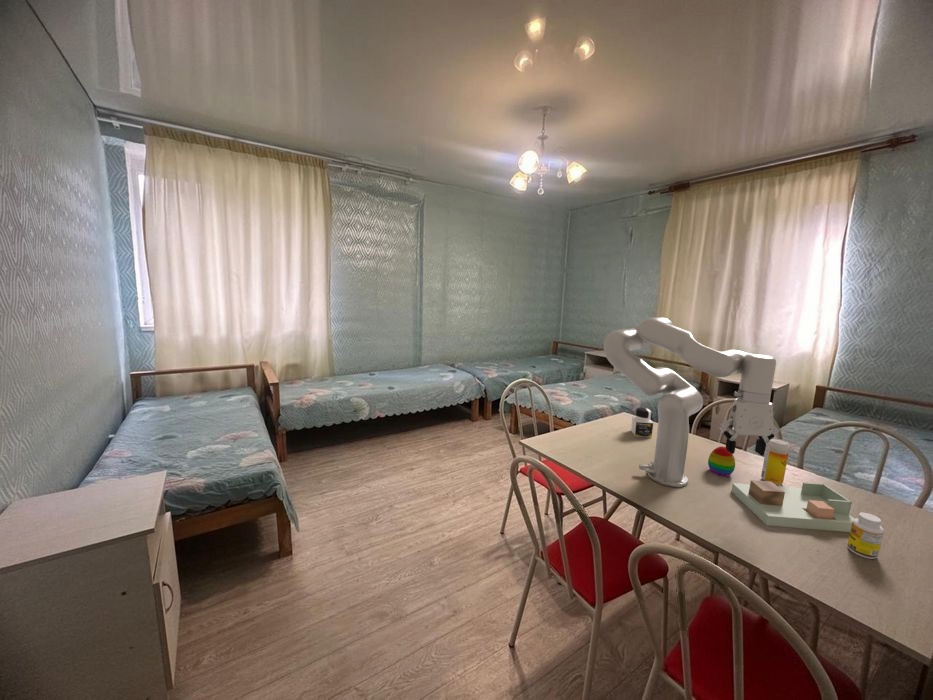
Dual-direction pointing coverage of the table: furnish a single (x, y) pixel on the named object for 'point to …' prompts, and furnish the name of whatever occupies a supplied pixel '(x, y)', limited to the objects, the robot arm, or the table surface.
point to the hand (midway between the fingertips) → (744, 452)
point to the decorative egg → (721, 462)
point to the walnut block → (766, 493)
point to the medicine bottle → (642, 423)
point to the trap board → (800, 507)
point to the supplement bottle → (866, 536)
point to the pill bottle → (775, 461)
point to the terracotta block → (819, 509)
